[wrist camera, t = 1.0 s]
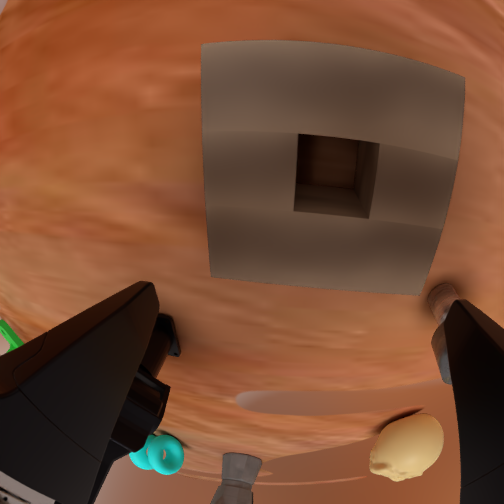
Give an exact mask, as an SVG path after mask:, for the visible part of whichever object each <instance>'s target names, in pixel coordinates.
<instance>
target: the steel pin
mask: <svg viewBox="0 0 504 504" xmlns="http://www.w3.org/2000/svg"><path fill="white" fill-rule="evenodd" d="M457 299H460V298H459V296H458V295H457V293H456V291H455V289H454V288H453V286H452V285H451V284H449V283H443V284H440V285H438V286H436V287H435V288H434V289H433V290H432V291H431V292H430V294H429V296H428V303H429V306H430V308H431V310H432V312H433V315H434V317H435V319H436V322H437V324H438V328H437V329H436V331H435V333H434V335H433V337H432V341H431V345H432V348H433V351H434V354H435V357H436V360H437V364H438V367H439V370H440V373H441V377H442V380H443V381H444V382H445V383H447V384H452V381H451V376H450V370H449V362H448V354H447V346H446V339H445V333H444V321H445V318H446V316H447V314H448V312H449V309H450V307H451V305H452V303H453V301H454V300H457ZM479 310H480V309H479Z"/></svg>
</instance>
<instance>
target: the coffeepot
mask: <svg viewBox="0 0 504 504" xmlns="http://www.w3.org/2000/svg"><path fill="white" fill-rule="evenodd" d="M261 465H262V462H261V460H260V459H259V458H257V457H254V456H251V455H247V454H241V453H226V454H224V455H223V464H222V484H221V486H219V487H218V489H217V491H216V493H215V495H214V497H213V499H212V501H211V503H210V504H253V492H251V488H252V485H253V484H254V482H255V480H256V477H257V475H258V472H259V470H260V467H261Z"/></svg>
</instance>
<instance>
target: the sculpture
mask: <svg viewBox="0 0 504 504" xmlns="http://www.w3.org/2000/svg"><path fill="white" fill-rule="evenodd" d="M443 441H444V436H443V430H442V428H441V425H440V424H439V422H438V421H437V420H436V419H435V418H434V417H433V416H431V415H429V414H425V413H423V414H415V415H411V416H408V417H405V418H402V419H399V420H397V421H394V422H392V423H390V424H388V425H387V426H386V427H385V428H384V429H383V430H382V431H381V433H380V435H379V437H378V439H377V441H376V444H375V446H374V448H373V449H372V450H371V452H370V454H371V455H370V466H369V468H370V470H371V472H372V473H374V474H378V475H383V476H386V477H389V478H390V479H391V480H394V481H401V480H404V479H406V478H412V477H415V476H420V475H422V473H423V471H424V470H426V469H427V468H428V467H430V466H431V465H432V464H433V463H434V462H435V461H436V459H437V458H438V456H439V455H440V453H441V450H442V447H443Z"/></svg>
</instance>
